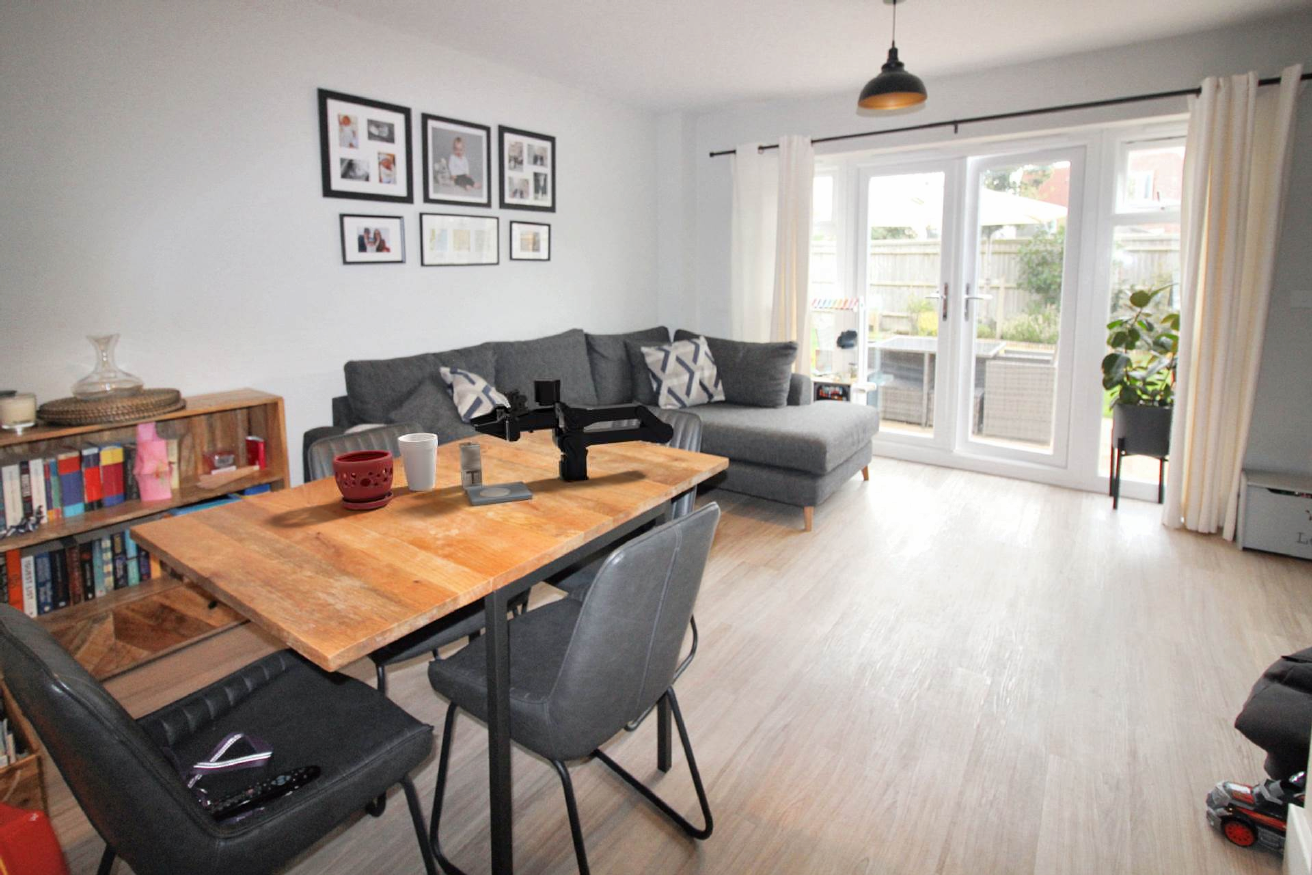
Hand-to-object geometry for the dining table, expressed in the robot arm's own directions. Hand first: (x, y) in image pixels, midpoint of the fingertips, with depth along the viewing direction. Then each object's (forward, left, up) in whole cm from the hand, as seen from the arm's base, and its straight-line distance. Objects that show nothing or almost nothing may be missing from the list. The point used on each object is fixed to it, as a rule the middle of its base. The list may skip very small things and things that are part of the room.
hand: (472, 424), depth 183 cm
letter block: (+1, -3, -17) cm, 17 cm away
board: (-4, +7, -16) cm, 18 cm away
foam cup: (+13, -7, -17) cm, 22 cm away
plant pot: (+26, +2, -17) cm, 31 cm away
